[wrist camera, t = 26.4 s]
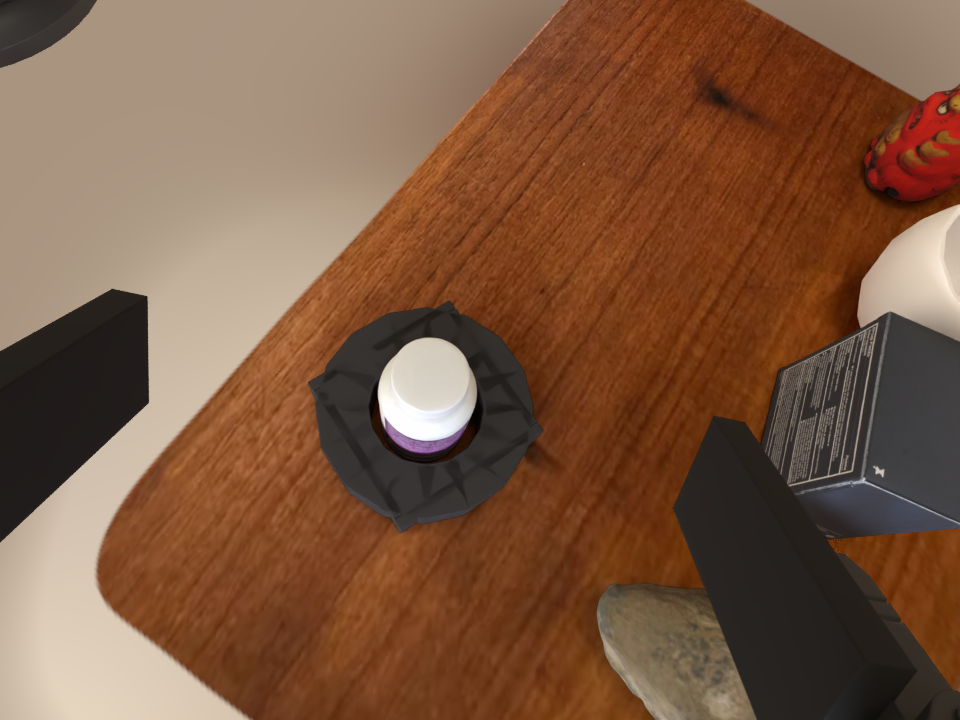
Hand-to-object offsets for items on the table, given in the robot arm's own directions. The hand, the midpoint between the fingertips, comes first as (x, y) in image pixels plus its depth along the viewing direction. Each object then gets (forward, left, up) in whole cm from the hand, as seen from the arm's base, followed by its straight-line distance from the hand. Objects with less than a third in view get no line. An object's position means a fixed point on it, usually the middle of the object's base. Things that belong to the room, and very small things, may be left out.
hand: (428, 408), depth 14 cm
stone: (+18, +9, -25) cm, 32 cm away
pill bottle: (-4, +4, -25) cm, 25 cm away
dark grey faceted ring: (-4, +4, -25) cm, 25 cm away
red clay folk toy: (0, +48, -25) cm, 54 cm away
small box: (+12, +24, -25) cm, 37 cm away
